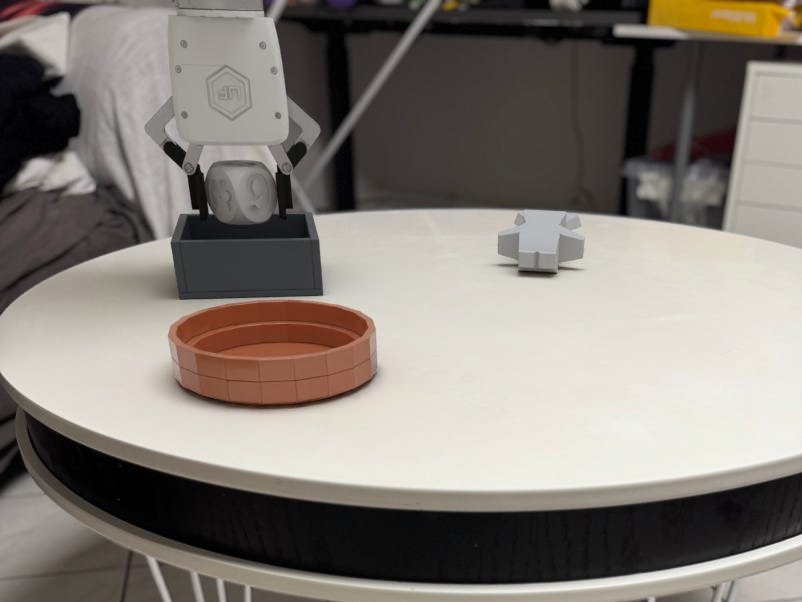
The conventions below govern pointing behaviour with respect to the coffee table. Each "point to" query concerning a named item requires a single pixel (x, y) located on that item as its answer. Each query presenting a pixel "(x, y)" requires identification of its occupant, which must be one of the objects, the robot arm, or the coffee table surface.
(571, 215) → the grey angular piece
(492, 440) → the coffee table surface
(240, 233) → the bin
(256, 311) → the bowl
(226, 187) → the die
